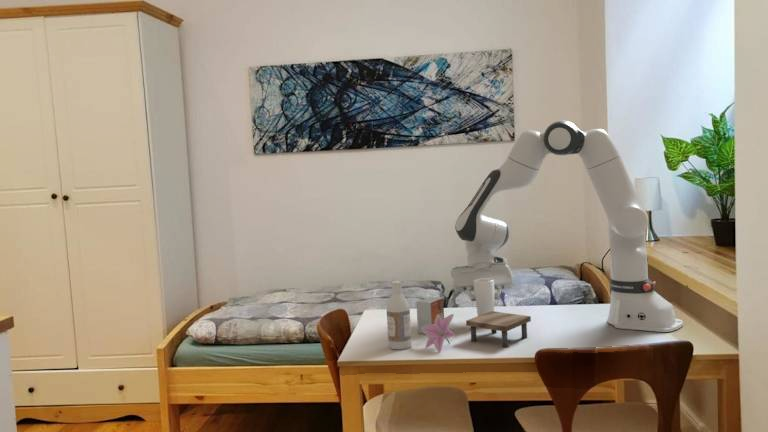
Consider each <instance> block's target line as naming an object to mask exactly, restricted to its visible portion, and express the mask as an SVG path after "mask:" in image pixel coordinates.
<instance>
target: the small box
mask: <svg viewBox="0 0 768 432" xmlns="http://www.w3.org/2000/svg"><path fill="white" fill-rule="evenodd" d="M415 303H416V316H417V317H416V318H417V320H416V321H417V333H418V334H425V333H424V332H423V331H422V327H424V326H427V325H430V324H435V319H436V316H437V315H438V314H439V315H440V317H441V319H442V320H443V319H444V318H445V309H444V308H445V307H444V298H443V297H434V296H429V297H427V298H424V299H421V300H417V301H416V302H415ZM425 335H426V334H425Z"/></svg>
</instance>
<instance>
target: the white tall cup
mask: <svg viewBox="0 0 768 432" xmlns="http://www.w3.org/2000/svg"><path fill="white" fill-rule="evenodd" d="M481 279H485V280H488V282H478V281H479V280H481ZM495 293H496V290H495V288H494V280H493V279H491V278H480V279H475V280H474V291H473V294H474V295H475V301H474V302H475V306H476V307H475V308H476V313H477V316H480V315H483V314H485V313H488V312H491V311H495V305H496V303H495V301H496V300H495Z"/></svg>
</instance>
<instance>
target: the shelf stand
mask: <svg viewBox="0 0 768 432" xmlns="http://www.w3.org/2000/svg"><path fill="white" fill-rule="evenodd" d="M531 318H532V317H531V315H524V314H517V313H516V314H515V313H508V312H499V311H495V310H494V311H491V312H488V313H485V314H483V315H480V316H478V315H477V316H475V317H473V318H470V319H467V320H466V321H465V322H466V323H465V324H466V327H470V337H471V338H470V340H471V342H472V343H476V342H478V341H477V339H478V338H477V328H479V329H480V328H481V329H486V330H490V331H491V334H497V333H498V332H497V331H499V332H501V347H502V348H508V346H509V343H508V331H511V330H514V329H515V328H518V327H520V326H521V329H520V330H521V338H522V339H528V324H527V323H530V322H531V321H532V319H531Z"/></svg>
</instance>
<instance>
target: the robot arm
mask: <svg viewBox="0 0 768 432" xmlns="http://www.w3.org/2000/svg"><path fill="white" fill-rule="evenodd" d="M550 154H553V155H556V156H567V155H574V154H576V155H578V156H579V157H580V159H581V160H582V162H583V164H584V165H583V166H584V167H585V170H586V172H587V174H588V176H589V179H590V181H591V183H592V185H593V188H594V190H595V193H596V194H597V196H598V199H599V200H600V201H599V202H600V204H601V206H602V208H603V210H604V212H605V214H606V216H607V219H608V237H609V252H610V253H609V254H610V278H609V293H610V305H609V312H608V315H607V318H606V322H607V323H608V324H610V325H613V326H614V328H616V329H620V330H621V329H623V330H632V331H633V330H635V331H636V330H637V331H645V332H646V331H649V332H659V333H669V332H674V331H676V330H679V329H681V328H682V327H683V326H684V321H683V320H682V319H679V318H676V314H675V310H674V306H673V304H672V303H671V302H669V301H668V300H666V298H664V297H663V296H662V295H660V294H659V293H658V292H656V291H655V286H656V281H652V280H651V279H650V278H649V275H648V274H649V272H648V271H649V270H648V250H647V241H646V230H647V228H648V225H649V222H650V221H649V215H648V213H647V210H646V208H645V207H644V204H643V201H642V199H641V198H640V196H639V193H638V191H637V189H636V187H635V185H634V183H633V181H632V180H631V177H630V174H629V172H628V170H627V168H626V166H625V164H624V161H623V159H622V157H621V154H620V152H619V150H618V149H617V146H616V144H615V143H614V141H613V140H612V138H611V136H610V135H609V134H608V132H607V131H606V130H604V129H603V128H593V129H589V130H587V131H582V130H581V128H580V127H579V126H578V125H577V123H576V124H575V123H574V122H572V121H570V120H563V119H562V120H561V119H560V120H558V121H555V122H552V123H551V124H550V125H549V126H548V127H547V128H546V129H545V131H544V132H541V131H537V130H534V129H532V130H531V129H529V130H525V131H523V132H521V134H520V135H519V137H518V138H517V139H516V141H515V142H514V144H513V146H512V148H511V150H510V152H509V154H508V155H507V158H506V160H505V161H504V162H503V164H502V165H500V167H499V168H497V169H494V170H492V171H490V173H489V174H487V176H486V178H485V179H484V181H483V182H482V183H481V185H480V186H479V187H478V189H477V191H476V193H475V195H474V196H473V197H472V199H471V200H470V202H469V203H468V205H467V206H466V207H465V209H464V210H463V211H462V212H461V214H459V216H458V217H457V219H456V221H455V225H454V229H455V231H456V234H457V235H458V237H459V238H460V240H462V241H465V252H466V254H467V256H466V262H467V265H462V266H454V267H452V268H451V270H450V275H451V277H452V283H453V284H452V286H453V287H452V288H453V289H452V290H453V291H455V292H466V295H467V296H468V297H469V298H470V302H475V295H474V293H472V292H474V280H475V279H480V278H491V279H493V280H494V288H495V291H496V292H495V301H499V300H500V298H501V296H500V295H501V293H502V290H511V289H512V288H513V287H514V283H515V281H514V275H513V272H512V269H511V268H510V266H509V265H508V259H506V258H505V257H501V256H496V255H493V252H496V251H498V250H499V249H501V248H502V247H503V246H504V245H506V243H507V242H508V240H509V237H510V234H509V233H510V232H509V228H508V225H507V223H506V222H505V221H503V220H501V219H498V218H494V217H490V216H488V215H483V214H482V213H483V211H484V210H485V208H486V207H487V205H488V204H489V202H490V201H491V199H492V198H493V196H494V195H496V194H498V193H500V192H503V191H510V190H520V189H524V188H526V187H528V186H530V185H532V183H533V182H534V181H535V179H536V177H537V176H538V173H539V171H540V168H541V166H542V164H543V162H544V161H545V158H546V157H547V156H548V155H550ZM478 282H488V280H485V279H481V280H479V281H478Z"/></svg>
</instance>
